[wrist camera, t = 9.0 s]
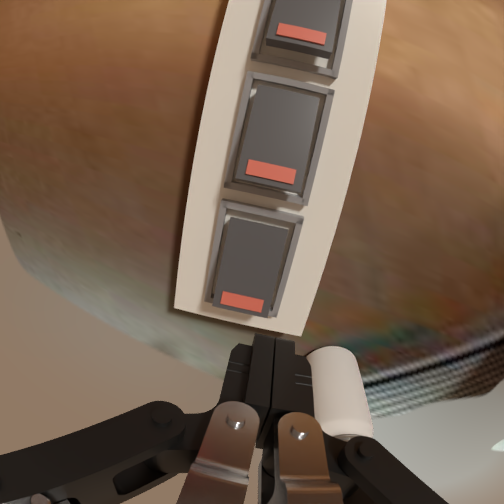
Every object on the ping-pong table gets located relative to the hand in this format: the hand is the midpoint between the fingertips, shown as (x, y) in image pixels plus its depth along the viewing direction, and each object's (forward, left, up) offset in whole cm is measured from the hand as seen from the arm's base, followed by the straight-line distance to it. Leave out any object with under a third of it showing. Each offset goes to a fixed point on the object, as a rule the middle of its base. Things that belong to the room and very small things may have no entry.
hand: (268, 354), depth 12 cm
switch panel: (+1, -7, -18) cm, 19 cm away
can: (-10, +15, -18) cm, 25 cm away
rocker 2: (+1, -7, -13) cm, 15 cm away
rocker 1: (+1, -17, -13) cm, 22 cm away
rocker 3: (+1, +3, -13) cm, 13 cm away
